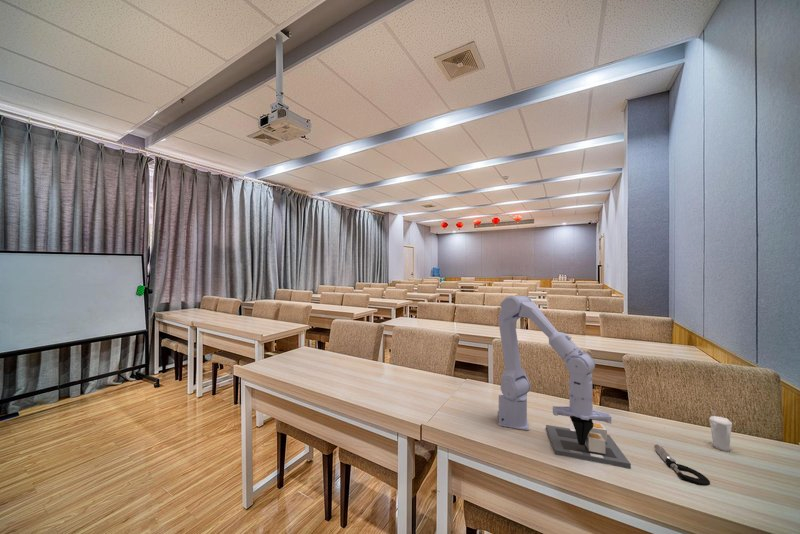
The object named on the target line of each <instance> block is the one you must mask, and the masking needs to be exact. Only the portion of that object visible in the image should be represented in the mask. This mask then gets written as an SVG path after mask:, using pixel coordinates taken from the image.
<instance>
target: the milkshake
mask: <svg viewBox="0 0 800 534" xmlns="http://www.w3.org/2000/svg"><path fill="white" fill-rule="evenodd" d="M711 412H712V415H711V416H710V417H709V424H710V431H711V440H712V446H713V447H714V448H715V449H717V450H720V451H723V452H729V451H730V448H731V447H730V445H731V435H732V429H733V428H732V427H733V423H732V421H730V419H728V418H726V417H722V416H716V412H715V410H714V409H711Z"/></svg>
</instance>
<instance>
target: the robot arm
mask: <svg viewBox="0 0 800 534" xmlns="http://www.w3.org/2000/svg"><path fill="white" fill-rule="evenodd" d="M521 317H522V318H523V319H524V318H525V319H529V320H530V321H531V322H533V324H534V325H536V327H537V328H538V329H539V330H541V332H542V333H543V334H544V335H546V337H547V338H548V345H550V347H551V348H552V349H553V350H554V352H555V353H556V354H558V356H559V357H560V358H561V359H562V361H564V362H565V368H566V370H567V371H568V373H569V383H568V384H569V387H568V388H569V389H568V390H569V406H557V405H556V406H555V405H553V406H552V414H553V416H557V417H558V416H564V417H569V418H570V421H571V423H572V426H573V429H575V431H576V435H577V440H578V443H579V445H585V441H586V438H587V436H588V434H589V432H590V430H591V429H592V428H593V425H594V424H593V423H594V421H598V422H604V423H607V424H610V425H611V424H612V415H610V414H609V413H607V412H601V411H598V410H597V411H596V410H593V406H594V404H593V399H594V398H593V397H594V396H593V373H592V372H594V369H595V368H596V362H595V360H594V358H593V357H592V355H591V354H590V353H587V352H584V349H582V348H579V346H578V345H576V343H575V342H573V341H572V336H571V335H570V334H566V333H565V332H561V331H558V329H556V328H555V326H554V325H553V324H552V323H551V322H550V321H549V319H548V318H547V317H546V315H544V313H543V312H542V311H541V310H540V309H539V307H538V306H537V304H536V302H535V301H533V300H532V299H531V298H530V297H529V296H528V295H524V294H523V295H515V296H513V295H509V296H508V295H507V296H506V297H505V298H503V300H502V301H501V302H500V311H499V314H498V317H497V319H498V326H499V328H498V329H499V334H500V341H501V348H502V355H503V363H504V370H503V373H502V374H501V383H500V391H501V393H502V394H498V411H497V417H498V425H499V426H500V427H505V428H511V429H516V430H522V431H523V430H525V431H530V426H529V422H528V393H529V392H530V391H531V389H532V388H531V387H532V386H531V383H530V380H529V379H528V377H527V372H526V370H524V369H523V368H522V362H521V356H520V349H519V347H520V346H519V339H518V335H517V328H516V322H517V321H518V320H519V319H520V318H521Z"/></svg>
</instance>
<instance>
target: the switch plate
mask: <svg viewBox="0 0 800 534" xmlns="http://www.w3.org/2000/svg"><path fill="white" fill-rule="evenodd" d="M545 429H546V433H547V436H548V438H549V441H550V444H551V447H552V450H553V453H554V455H557V456H561V457H568V458H572V459H578V460H583V461H588V462H593V463H599V464H603V465H604V464H605V465H611V466H615V467H620V468H626V469H631V468H632V467H631V466H632V465H631V462H630V461H629V460H628V458H627V457H626V456H625V454H624V453H623V452H622V450H621V449H620V447H619V446H618V445H617V444H616V441H614V439H613V438H612V437H611V435H610V434H607V442H605V452H606V454H602V453H597V452H591V451H589V450H588V449H587V447H586V445H579V443H578V440H577V435H576V431H575V428H570V427H563V426H556V425H550V424H545Z"/></svg>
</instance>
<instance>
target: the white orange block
mask: <svg viewBox="0 0 800 534" xmlns="http://www.w3.org/2000/svg"><path fill="white" fill-rule="evenodd" d="M593 424H594V425H593V428H592V429H591V430H590V432H592V433H598V434H601V436H602V437H603V438H604V440H605V442H607V435H608V430H607V428H605V426H604V424H602V423H597V422H593Z"/></svg>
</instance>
